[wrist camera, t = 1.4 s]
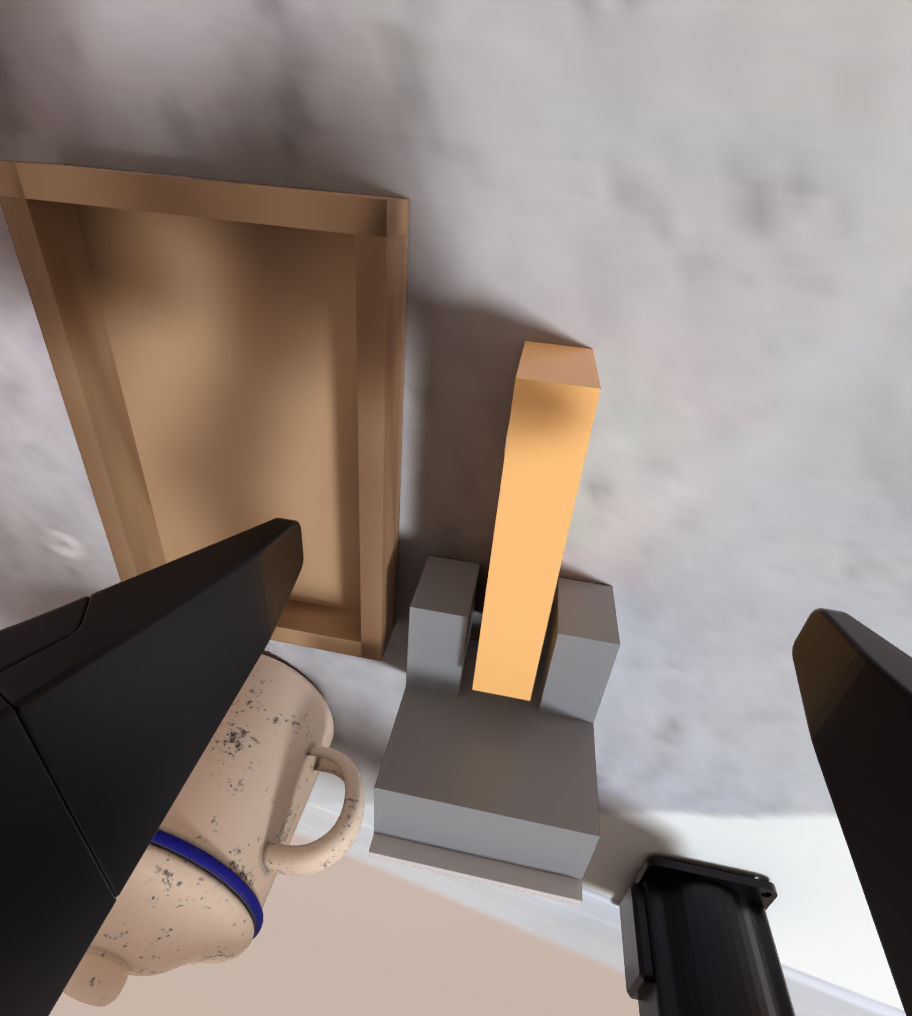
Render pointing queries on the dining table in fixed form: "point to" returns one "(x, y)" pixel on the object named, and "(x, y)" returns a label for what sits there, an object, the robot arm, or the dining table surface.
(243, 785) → the teacup with lid
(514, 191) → the dining table surface
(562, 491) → the tan elongated block
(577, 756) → the grey slotted holder
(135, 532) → the tray
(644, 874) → the robot arm
